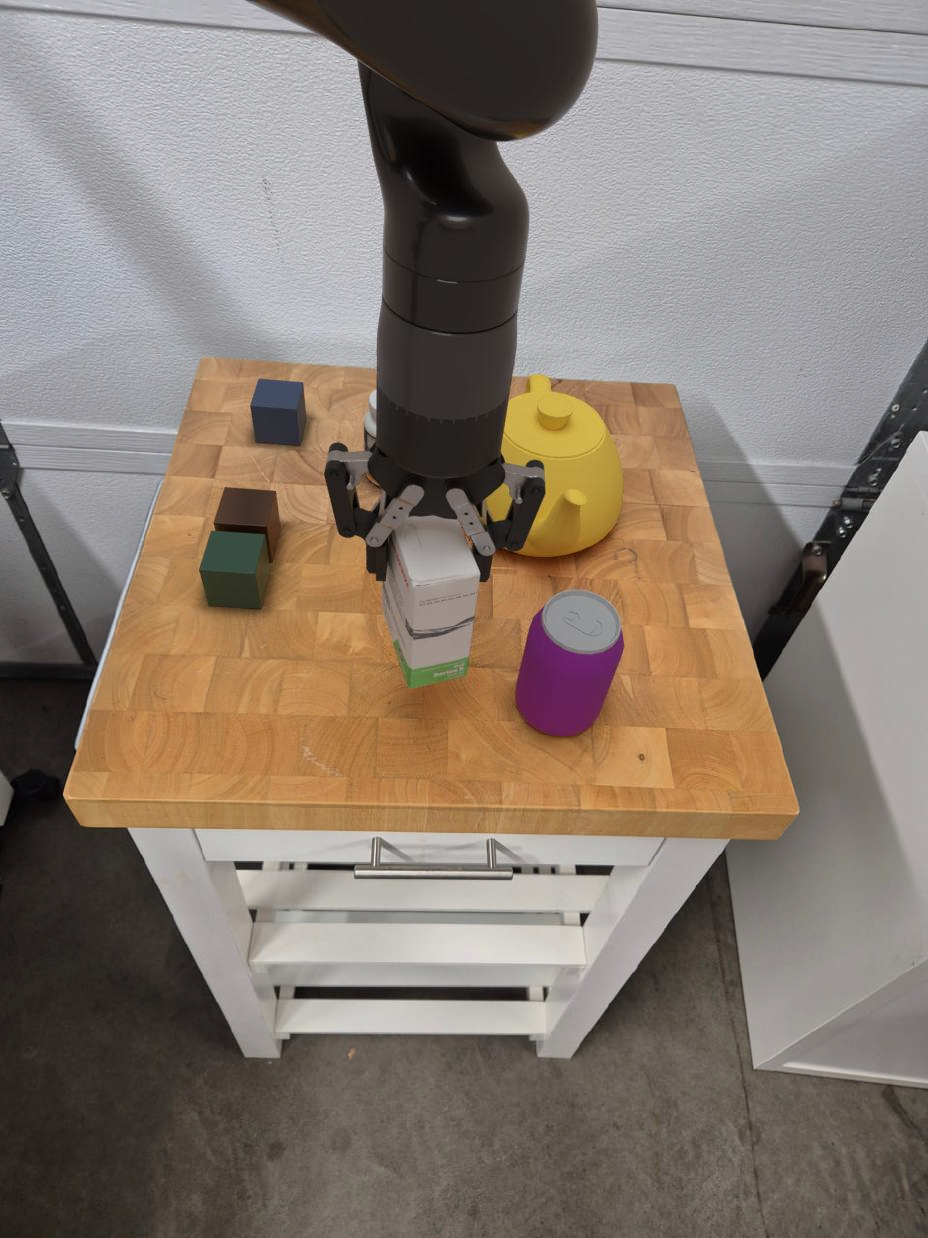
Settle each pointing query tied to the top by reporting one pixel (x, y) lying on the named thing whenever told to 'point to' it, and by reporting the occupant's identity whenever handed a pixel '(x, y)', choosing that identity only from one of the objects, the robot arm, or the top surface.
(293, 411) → the slate block
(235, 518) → the walnut block
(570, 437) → the teapot
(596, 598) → the beverage can
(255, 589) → the green block
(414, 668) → the ink box
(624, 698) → the top surface
